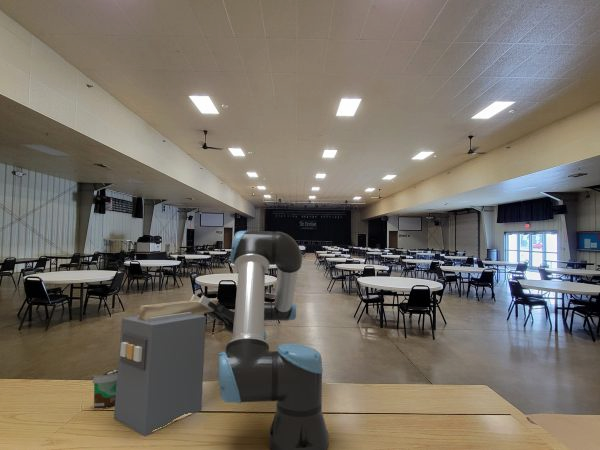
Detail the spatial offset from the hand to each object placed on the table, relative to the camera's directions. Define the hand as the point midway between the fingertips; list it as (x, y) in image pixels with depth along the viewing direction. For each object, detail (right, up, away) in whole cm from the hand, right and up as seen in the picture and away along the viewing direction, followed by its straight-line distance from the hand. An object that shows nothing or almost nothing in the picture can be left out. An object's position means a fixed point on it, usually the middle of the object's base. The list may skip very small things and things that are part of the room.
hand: (196, 298), depth 106 cm
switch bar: (-3, -4, -5) cm, 7 cm away
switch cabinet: (-7, -31, -13) cm, 35 cm away
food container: (-24, -32, -7) cm, 41 cm away
